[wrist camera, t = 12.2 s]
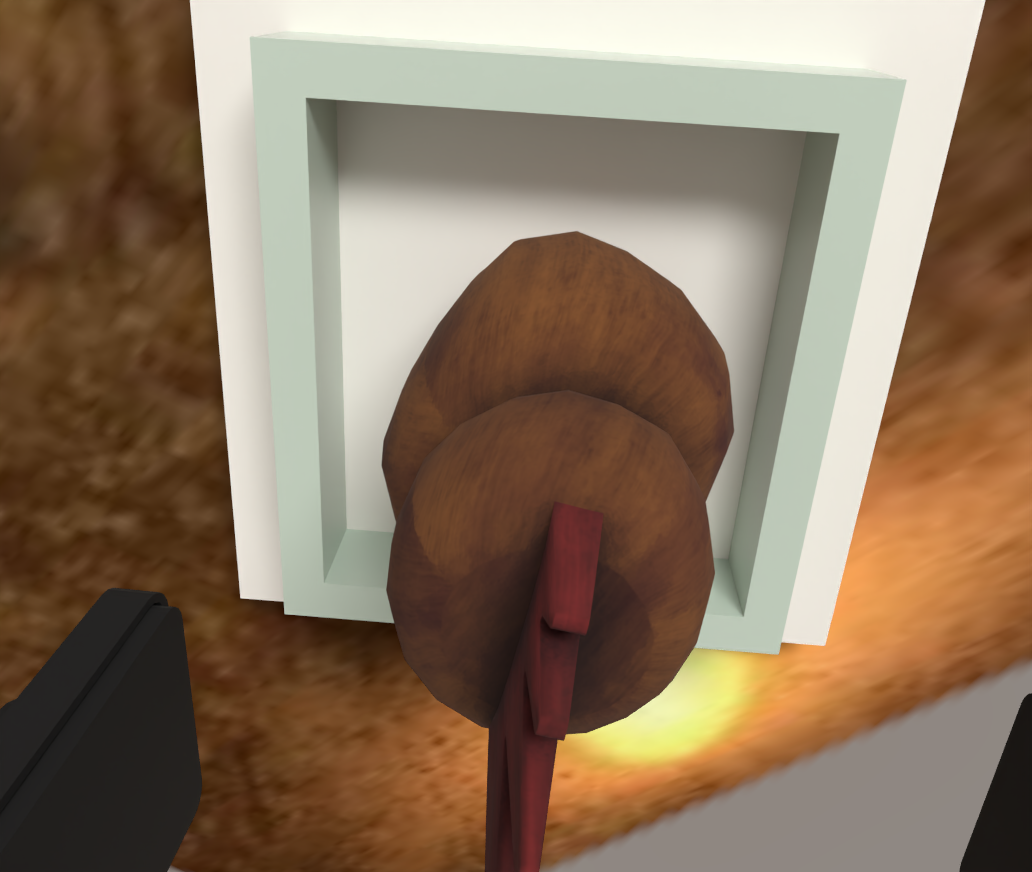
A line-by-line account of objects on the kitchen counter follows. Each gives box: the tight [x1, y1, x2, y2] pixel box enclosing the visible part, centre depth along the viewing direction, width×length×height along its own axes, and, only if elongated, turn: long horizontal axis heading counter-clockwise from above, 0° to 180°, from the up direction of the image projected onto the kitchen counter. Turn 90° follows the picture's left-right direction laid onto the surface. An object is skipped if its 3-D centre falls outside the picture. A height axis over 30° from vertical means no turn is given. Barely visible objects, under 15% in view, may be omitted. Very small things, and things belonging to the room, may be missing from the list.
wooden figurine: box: [381, 231, 734, 872], centre depth 15 cm, size 7×6×15 cm
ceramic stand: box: [190, 0, 985, 655], centre depth 22 cm, size 16×16×4 cm
